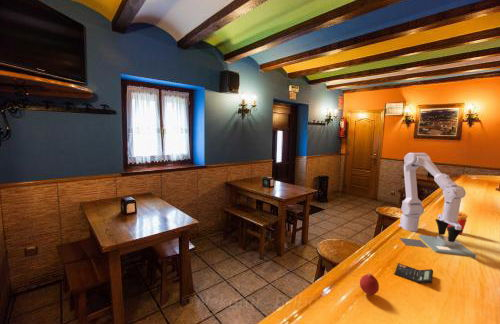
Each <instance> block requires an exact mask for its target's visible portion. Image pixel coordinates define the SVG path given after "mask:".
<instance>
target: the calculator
mask: <svg viewBox="0 0 500 324" xmlns="http://www.w3.org/2000/svg"><path fill="white" fill-rule="evenodd" d="M393 275H394V276H398V277H401V278H403V279H405V280H409V281H411V282H414V283H416V284H433V275H434V270H433V269H432V268H430V269H429V268H428V269H418V268H414V267H411V266H408V265H406V264H402V263H399V262H398V263H397V265H396V268H395V271H394V274H393Z"/></svg>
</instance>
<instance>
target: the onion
mask: <svg viewBox="0 0 500 324" xmlns="http://www.w3.org/2000/svg"><path fill="white" fill-rule="evenodd" d="M359 287H360V289H361V290H362V291H363V292H364V293H365V295H366V296H374V295H376V294H377V293H378V292H379V289H380V284H379V281H378V279H377V278H376V277H375V276H374V275H373V274H372V273H371V272H368V273H367V274H364V275H363V276H361V278H360V280H359Z"/></svg>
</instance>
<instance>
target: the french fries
mask: <svg viewBox="0 0 500 324" xmlns="http://www.w3.org/2000/svg"><path fill="white" fill-rule="evenodd" d="M468 217H469V215H468V214H467V213H465V212H463V211H459V214H458V219H457V221H458V223H459V224H460V225H461V226H462V228H461V229H462V230H463V231H464V229H465V225H466V223H467V218H468ZM447 227H452V226H451V225H449V224H448V226H447ZM446 231H447V232H448V230H447V229H446ZM462 234H463V232H461V233H460V234H459V235H460V236H462ZM459 235H458V236H459Z"/></svg>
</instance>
